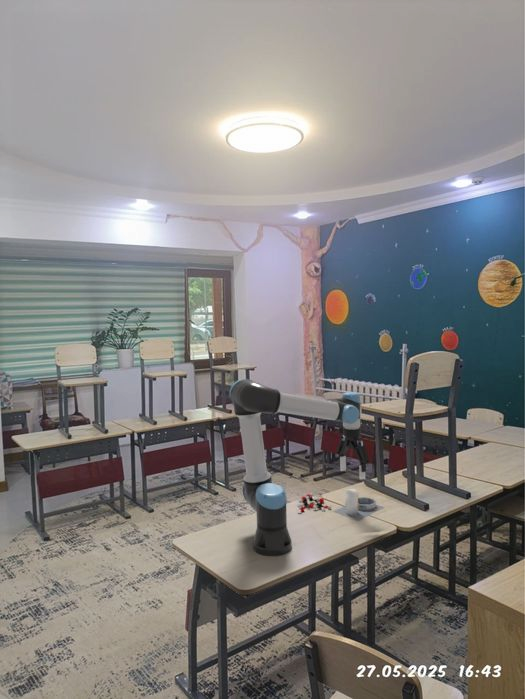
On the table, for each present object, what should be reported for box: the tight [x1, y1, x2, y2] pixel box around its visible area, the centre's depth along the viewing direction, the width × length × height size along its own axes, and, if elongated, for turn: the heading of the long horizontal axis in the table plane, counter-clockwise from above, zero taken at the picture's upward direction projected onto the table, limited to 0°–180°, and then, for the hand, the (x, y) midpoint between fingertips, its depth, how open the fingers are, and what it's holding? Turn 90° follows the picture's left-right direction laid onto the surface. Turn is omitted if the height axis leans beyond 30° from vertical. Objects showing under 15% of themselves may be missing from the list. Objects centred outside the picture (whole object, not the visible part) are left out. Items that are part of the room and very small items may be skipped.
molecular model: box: [296, 492, 332, 513], centre depth 228 cm, size 10×12×15 cm
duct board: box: [332, 503, 385, 521], centre depth 223 cm, size 20×14×1 cm
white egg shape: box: [344, 488, 359, 515], centre depth 219 cm, size 6×6×10 cm
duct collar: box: [358, 497, 377, 511], centre depth 226 cm, size 10×10×2 cm
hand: (352, 474), depth 217 cm, fingers open, 13 cm apart
